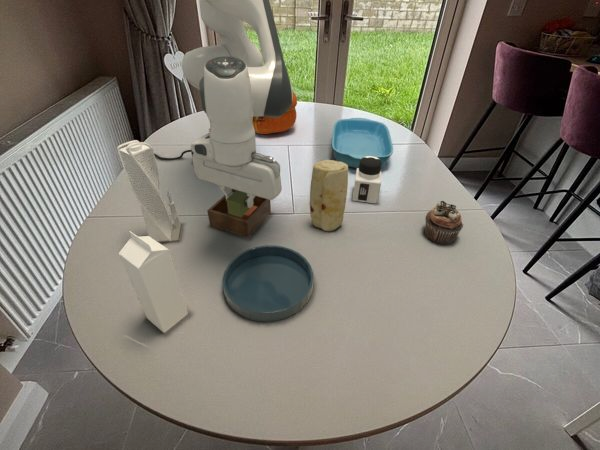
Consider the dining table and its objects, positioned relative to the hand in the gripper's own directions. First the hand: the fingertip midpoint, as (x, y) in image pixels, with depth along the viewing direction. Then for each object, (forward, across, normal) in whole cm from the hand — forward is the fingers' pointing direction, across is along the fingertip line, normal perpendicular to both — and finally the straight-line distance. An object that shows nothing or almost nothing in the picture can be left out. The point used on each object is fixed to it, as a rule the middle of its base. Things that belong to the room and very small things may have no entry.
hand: (239, 203), depth 76 cm
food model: (+15, -15, -19) cm, 29 cm away
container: (+15, -21, -39) cm, 47 cm away
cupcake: (+15, -45, -29) cm, 56 cm away
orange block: (+15, +5, -11) cm, 19 cm away
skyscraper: (+16, +23, +4) cm, 28 cm away
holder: (+15, +8, -11) cm, 20 cm away
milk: (+15, +4, +24) cm, 29 cm away
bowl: (+15, -11, +8) cm, 20 cm away
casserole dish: (+16, -10, -68) cm, 71 cm away
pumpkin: (+17, +31, -73) cm, 81 cm away
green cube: (+2, 0, 0) cm, 2 cm away
